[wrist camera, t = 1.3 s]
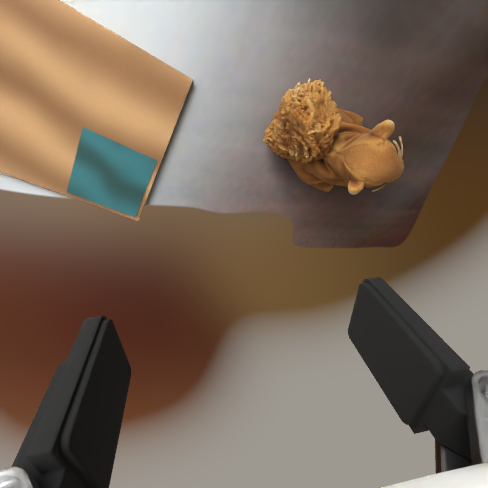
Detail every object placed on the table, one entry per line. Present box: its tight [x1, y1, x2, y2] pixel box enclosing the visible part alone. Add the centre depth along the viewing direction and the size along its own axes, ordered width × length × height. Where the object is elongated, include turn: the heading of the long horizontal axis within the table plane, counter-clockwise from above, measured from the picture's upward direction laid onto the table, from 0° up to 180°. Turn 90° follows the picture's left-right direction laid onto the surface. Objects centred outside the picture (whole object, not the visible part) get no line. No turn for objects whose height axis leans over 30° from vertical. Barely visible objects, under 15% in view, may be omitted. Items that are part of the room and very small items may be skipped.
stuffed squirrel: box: [263, 78, 404, 195], centre depth 28 cm, size 10×14×13 cm
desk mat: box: [0, 0, 193, 221], centre depth 28 cm, size 18×20×1 cm
